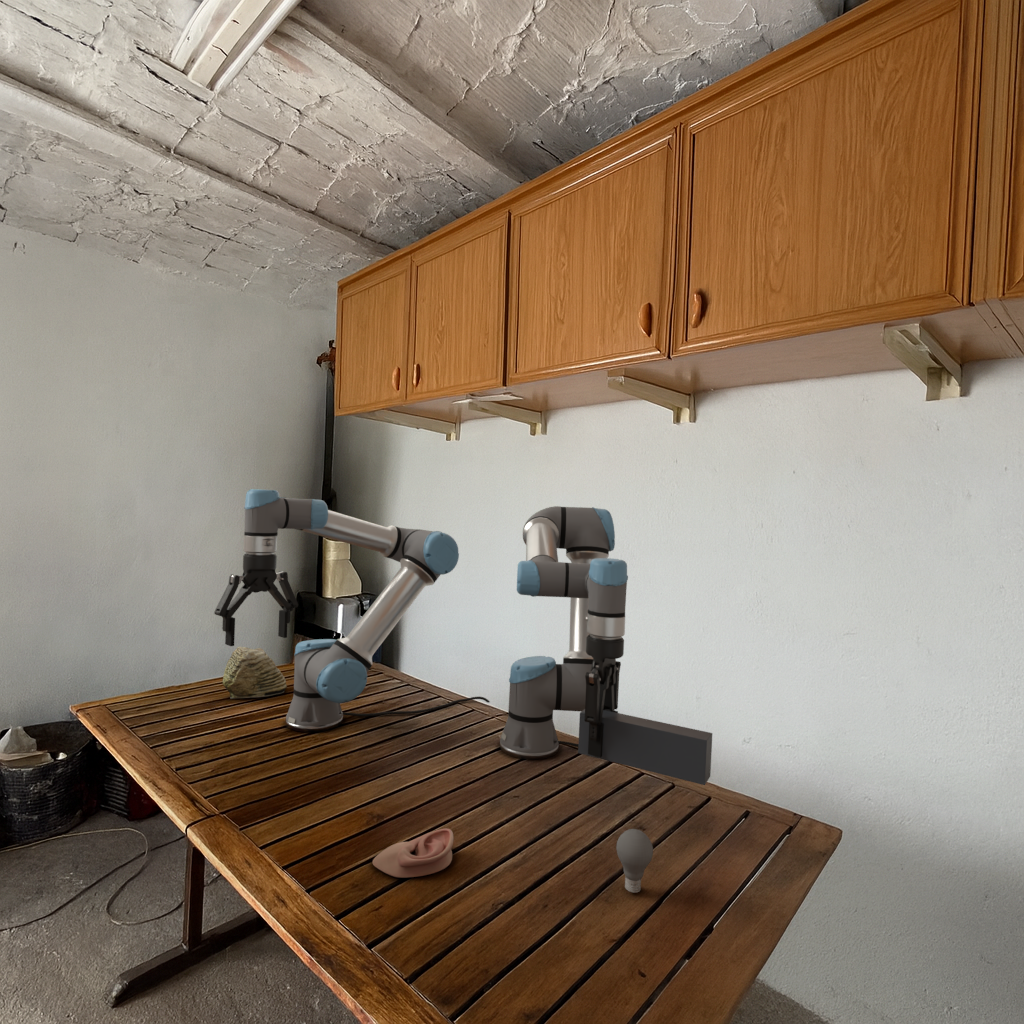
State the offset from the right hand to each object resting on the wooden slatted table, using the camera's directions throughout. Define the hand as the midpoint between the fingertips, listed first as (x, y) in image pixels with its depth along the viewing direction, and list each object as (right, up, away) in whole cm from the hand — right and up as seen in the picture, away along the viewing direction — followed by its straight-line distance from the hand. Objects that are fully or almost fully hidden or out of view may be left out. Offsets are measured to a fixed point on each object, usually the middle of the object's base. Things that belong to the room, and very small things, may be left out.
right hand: (599, 750), depth 128 cm
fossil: (-98, -9, +70) cm, 121 cm away
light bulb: (+2, -15, -22) cm, 27 cm away
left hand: (-79, +17, +25) cm, 85 cm away
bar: (+8, -1, -4) cm, 9 cm away
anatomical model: (-35, -14, -16) cm, 41 cm away
